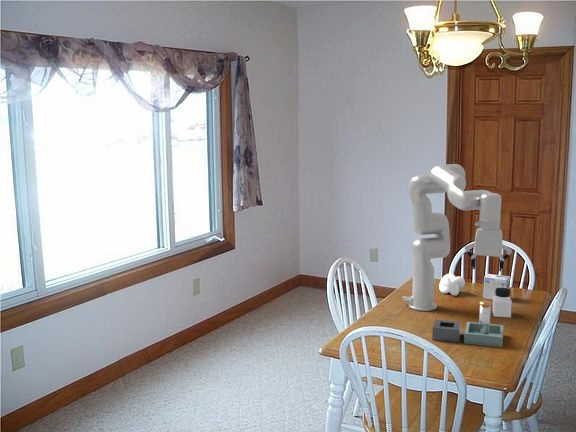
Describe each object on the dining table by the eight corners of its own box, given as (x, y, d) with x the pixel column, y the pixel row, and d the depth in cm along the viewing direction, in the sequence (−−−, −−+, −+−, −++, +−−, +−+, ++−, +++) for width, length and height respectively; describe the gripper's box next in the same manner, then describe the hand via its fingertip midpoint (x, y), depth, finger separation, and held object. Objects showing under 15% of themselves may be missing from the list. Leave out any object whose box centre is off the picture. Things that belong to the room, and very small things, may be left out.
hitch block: (432, 339, 256) (432, 327, 255) (435, 331, 265) (435, 319, 264) (458, 342, 253) (459, 330, 252) (460, 333, 262) (461, 321, 261)
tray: (464, 343, 252) (464, 333, 251) (466, 331, 265) (467, 321, 264) (502, 347, 247) (502, 337, 247) (503, 334, 261) (503, 325, 260)
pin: (477, 337, 255) (479, 303, 252) (477, 333, 259) (479, 299, 257) (489, 339, 253) (491, 304, 251) (490, 335, 258) (491, 300, 255)
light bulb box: (509, 298, 308) (510, 276, 306) (505, 302, 303) (506, 279, 301) (486, 295, 314) (487, 273, 312) (482, 298, 308) (483, 276, 307)
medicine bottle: (511, 317, 281) (512, 290, 279) (493, 316, 282) (495, 289, 280) (509, 312, 288) (510, 286, 286) (492, 311, 289) (493, 285, 287)
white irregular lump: (459, 289, 323) (459, 271, 322) (468, 296, 312) (469, 278, 310) (436, 290, 322) (437, 272, 320) (446, 297, 310) (446, 279, 308)
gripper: (465, 226, 248) (463, 270, 251) (513, 229, 242) (510, 274, 245) (466, 222, 255) (464, 265, 258) (513, 225, 249) (510, 269, 252)
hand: (487, 269), depth 252 cm, fingers open, 9 cm apart
